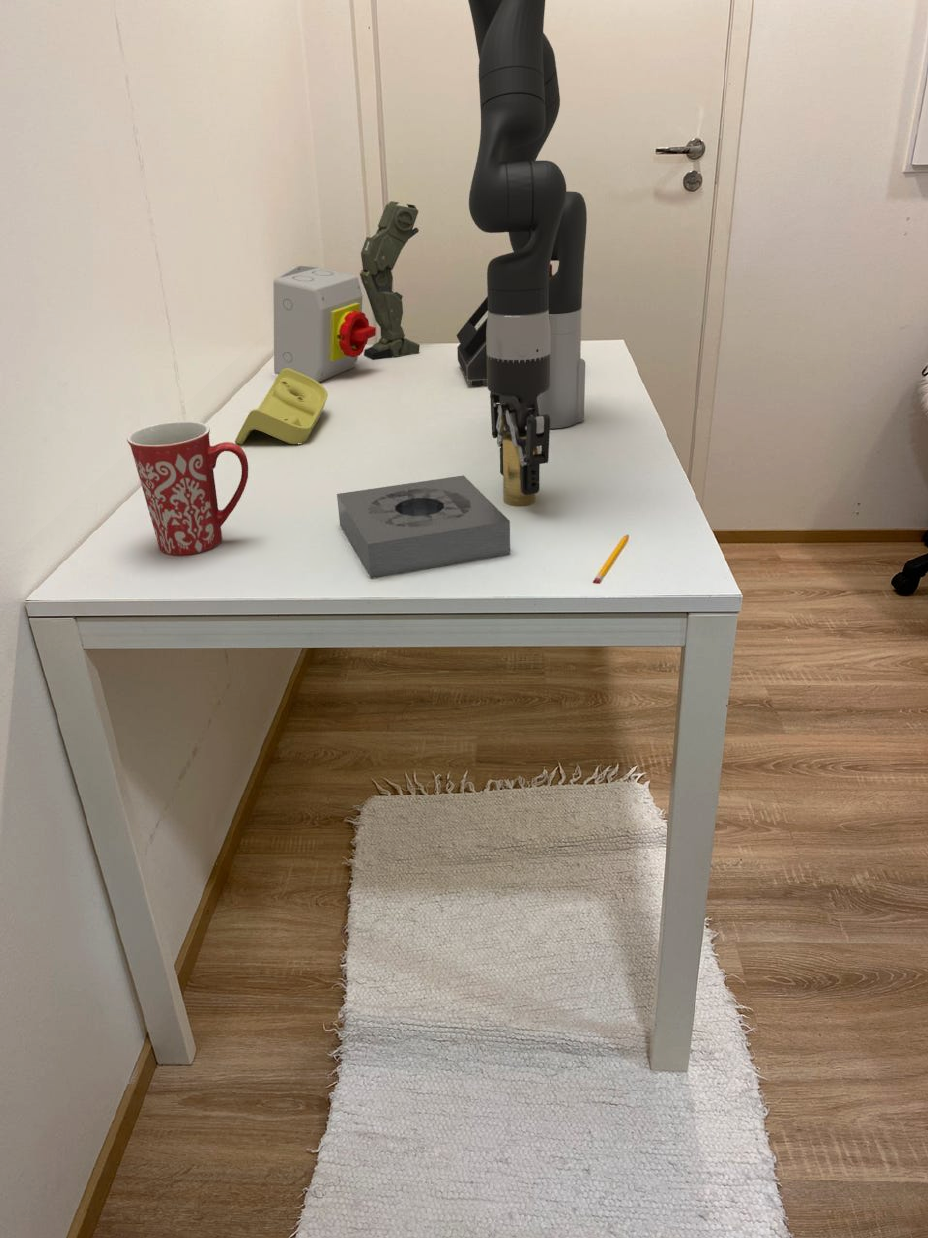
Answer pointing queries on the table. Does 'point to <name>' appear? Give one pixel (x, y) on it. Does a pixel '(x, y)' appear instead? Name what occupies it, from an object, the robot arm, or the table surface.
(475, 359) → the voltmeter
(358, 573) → the table surface
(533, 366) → the robot arm
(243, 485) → the mug
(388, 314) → the mechanical leg
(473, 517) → the jig
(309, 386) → the plastic component
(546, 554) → the table surface
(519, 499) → the brass peg
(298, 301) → the electrical switch box
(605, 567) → the pencil
